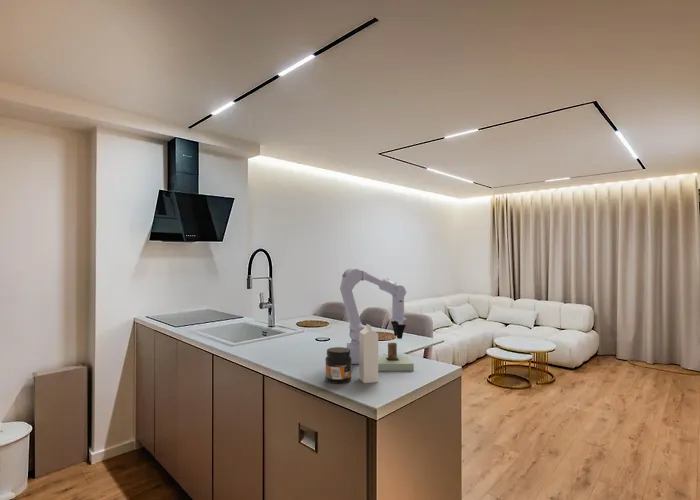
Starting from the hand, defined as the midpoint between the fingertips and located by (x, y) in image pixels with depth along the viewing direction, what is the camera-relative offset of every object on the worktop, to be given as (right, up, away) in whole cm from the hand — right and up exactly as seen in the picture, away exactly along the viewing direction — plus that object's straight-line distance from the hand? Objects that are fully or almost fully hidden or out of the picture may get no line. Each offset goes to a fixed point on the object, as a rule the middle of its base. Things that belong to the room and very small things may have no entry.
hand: (398, 337), depth 183 cm
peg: (-4, -10, -14) cm, 17 cm away
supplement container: (-28, -9, -35) cm, 46 cm away
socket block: (-4, -10, -14) cm, 17 cm away
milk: (-16, -9, -35) cm, 40 cm away
